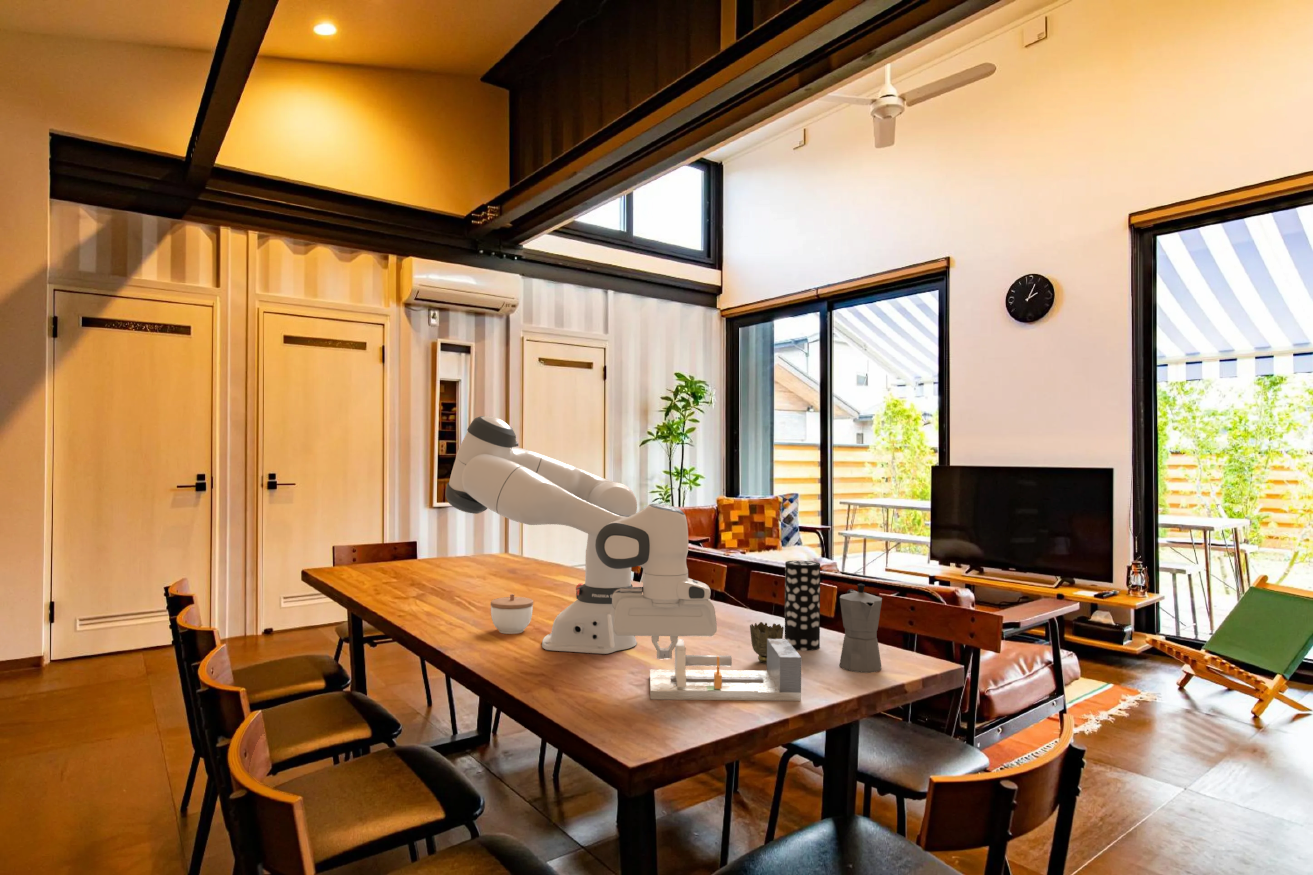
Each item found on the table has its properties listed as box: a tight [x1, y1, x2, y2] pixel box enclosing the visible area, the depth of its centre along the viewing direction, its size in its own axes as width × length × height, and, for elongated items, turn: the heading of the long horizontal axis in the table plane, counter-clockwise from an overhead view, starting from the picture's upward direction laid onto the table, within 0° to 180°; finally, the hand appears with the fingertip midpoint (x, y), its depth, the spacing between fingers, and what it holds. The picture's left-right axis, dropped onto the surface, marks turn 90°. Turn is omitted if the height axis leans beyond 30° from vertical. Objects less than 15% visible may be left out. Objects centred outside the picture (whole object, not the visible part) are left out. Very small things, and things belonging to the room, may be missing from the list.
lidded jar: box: [490, 593, 534, 635], centre depth 187 cm, size 11×11×9 cm
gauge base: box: [649, 638, 802, 702], centre depth 142 cm, size 28×14×8 cm, turn 91°
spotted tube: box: [784, 560, 821, 652], centre depth 176 cm, size 8×8×20 cm
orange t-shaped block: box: [714, 656, 722, 689], centre depth 137 cm, size 1×2×6 cm, turn 1°
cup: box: [749, 621, 785, 664], centre depth 162 cm, size 8×7×8 cm
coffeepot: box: [839, 583, 883, 674], centre depth 160 cm, size 15×9×18 cm, turn 2°
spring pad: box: [674, 638, 733, 687], centre depth 141 cm, size 11×12×6 cm
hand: (664, 658), depth 142 cm, fingers closed
